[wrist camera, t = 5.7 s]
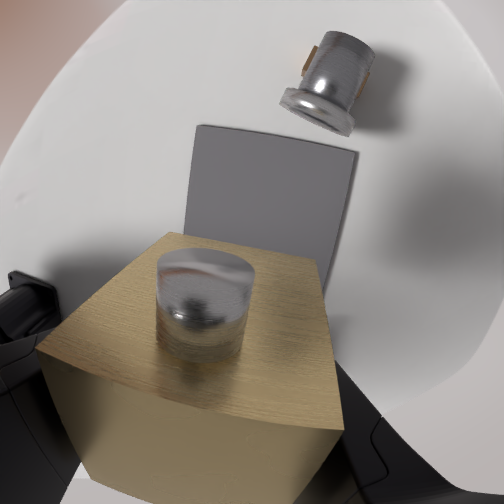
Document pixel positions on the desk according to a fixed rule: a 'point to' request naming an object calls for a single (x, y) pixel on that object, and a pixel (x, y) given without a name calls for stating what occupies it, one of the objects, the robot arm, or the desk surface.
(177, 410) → the coupler
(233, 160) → the mat
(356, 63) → the shaft
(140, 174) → the desk surface
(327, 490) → the robot arm
